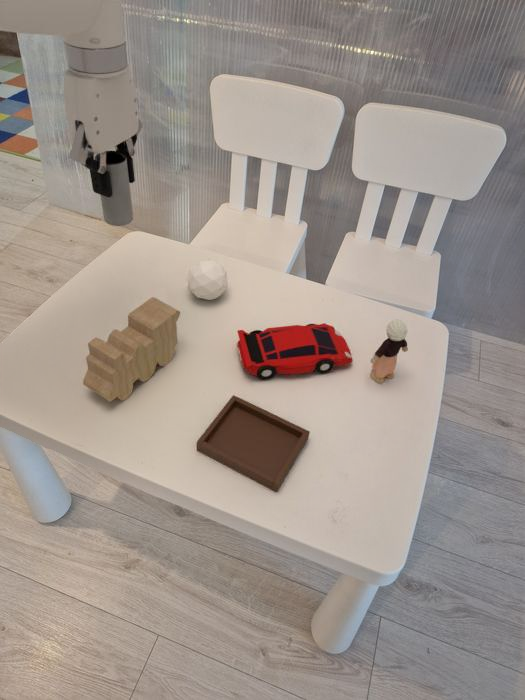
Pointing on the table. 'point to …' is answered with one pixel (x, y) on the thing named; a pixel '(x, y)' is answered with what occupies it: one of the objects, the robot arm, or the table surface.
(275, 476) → the tray
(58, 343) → the table surface
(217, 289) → the geometric ball
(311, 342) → the toy car
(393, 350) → the grandmother figurine
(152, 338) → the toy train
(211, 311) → the table surface
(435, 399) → the table surface
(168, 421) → the table surface
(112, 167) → the grey hollow cylinder
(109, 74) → the robot arm
